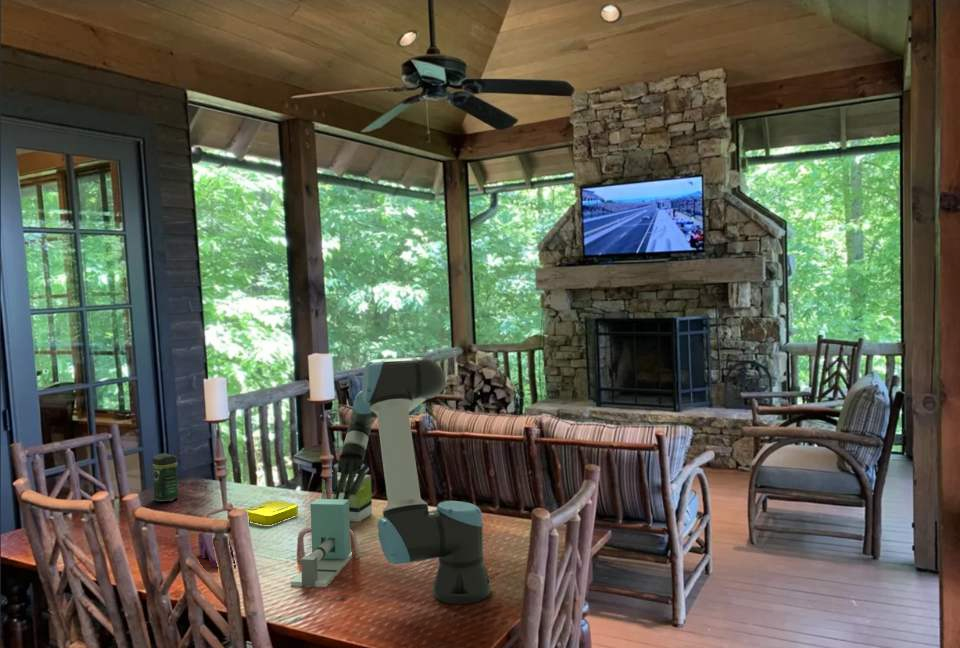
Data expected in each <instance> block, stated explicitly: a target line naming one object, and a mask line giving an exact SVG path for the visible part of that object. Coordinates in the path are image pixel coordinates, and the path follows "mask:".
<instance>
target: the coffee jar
mask: <svg viewBox="0 0 960 648" xmlns="http://www.w3.org/2000/svg"><path fill="white" fill-rule="evenodd" d="M152 470H153V499H154V498H155V499H158V500H166V499H172V498H177V497H178V496H179V483H178V458H177V456H176V455H174V454H169V453H166V452H163V453H157V454H155V455H154V456H153V457H152ZM178 498H179V497H178Z"/></svg>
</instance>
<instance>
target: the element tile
mask: <svg viewBox="0 0 960 648" xmlns="http://www.w3.org/2000/svg"><path fill="white" fill-rule="evenodd" d="M244 509H245V510H247V512H248V516H249V523H248V524H250V521H251V522H253V523H258V524H262V525H272V524H275V523H278V522H280V521H283V520H285V519H288V518H291V517H293V516H296V515H298V516H299V509H298V504H295V503H290V502H285V501H281V500H273V499H270V500H267V501H264V502H261V503H258V504H255V505H252V506H248V507H246V508H244Z"/></svg>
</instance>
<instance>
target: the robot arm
mask: <svg viewBox="0 0 960 648" xmlns="http://www.w3.org/2000/svg"><path fill="white" fill-rule="evenodd" d="M361 383H362V384H361V386H362V387H361V391H359V392H358V393H357V394H356V396H355V398H354V401H353V403H352V410H351V414H350V418H349V421H348V427H347V432H346V435H345V439H344V441H343V446H342V450H341V453H340V458H339V460H338V461H337V463H335V464H331V465H332V470H333V472H332V470H331V474H332V475H333V476H332V491H333V493H334V494H335V495H336V499H344V500H349V497H350V496H351V495H356V493H357V491H358V489H359V487H360V485H361V483H362V481H363V479H364V477H365V475H368V473H369V472H370V471H371V470H370V468H369V466H368V464H365V463H364V461H365V456H366V450H367V446H368V442H369V438H370V434H371V430H372V427H373V426H372V425H373V423H374V422H373V421H374V419H377V427H378V435H379V441H380V443H379V444H380V451H381V460H382V466H383V475H384V476H383V477H384V482H385V484H384V485H385V490H386V491H385V492H386V493H385V494H386V500H387V504H386V506H385V507H384V509H383V510H382V517H380V518H378V521H377V533H378V534H377V535H378V538H379V543H380V544H379V545H380V547H381V550H382V554H383V555H384V557H385V559H386V561H388V562H389V563H390V564H392V565H400V564H406V565H407V564H410V563H414V562H421V561H425V560H426V561H427V560H433V559H438V566H437V570H436V575H435V578H434V581H433V584H432V594H433V597H434V598H435V599H436V600H438V601H440V602H442V603H446V604H449V605H450V604H451V605H452V604H453V605H466V604H467V605H468V604H473V603H477V602H480V601H483V600H485V599H486V598H488V597H489V596H490V595H491V592H492V591H491V590H492V588H491V587H492V586H491V585H492V584H491V581H490V578H489V574H488V571H487V569H486V565H485V563H484V536H483V535H484V532H483V531H484V529H483V526H484V523H483V515H482V511H481V508H480V507H479V506H477V505H476V504H473V503H470V502H466V501H460V500H459V501H458V500H444V501H441V502H439V503H438V504H437V506H436V510H431V511H430V510H429V505H428V502H426V501H425V500H424V499H422V497H421V491H420V490H421V489H420V483H419V476H418V475H419V474H418V470H417V464H416V463H417V462H416V454H415V448H414V441H413V435H412V427H411V421H410V420H411V419H410V416H412V415H413V416H414V415H418V414H420V411H421V407H422V406H421V405H422V404H423V402H424V403H425V401H426V400H430V399H434V398H435V397H437V396H438V395H439V394H441V393H442V391H443V390H444V388H445V385H446V375H445V371H444V370H443V369H442V367H441V366H440V365H439V364H438V363H437V362H436V361H434V360H432V359H429V358H427V357H423V356H421V357H420V356H413V357H395V358H379V359H372V360H369V361H367V363H366V364H365V366H364V370H363V374H362V381H361ZM339 469H340V470H341V471H340V473H341V477H340V480H339V484H338V477H337V472H338V471H339ZM348 474H349V476H348ZM356 474H358V476H357V478H356V480H355V482H354V478H355V476H356ZM347 477H348V480H347V484H346V488H345V490H344V487H345V483H346V479H347ZM353 482H354V484H353ZM343 491H345V493H343Z"/></svg>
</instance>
